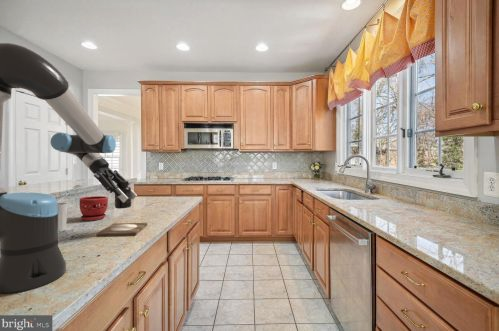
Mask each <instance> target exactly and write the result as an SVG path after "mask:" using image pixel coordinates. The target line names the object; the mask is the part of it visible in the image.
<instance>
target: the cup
mask: <svg viewBox="0 0 499 331" xmlns="http://www.w3.org/2000/svg"><path fill="white" fill-rule="evenodd" d="M68 205H69V203H68V202H57V207H58V232H61V231H65V230H66V229H67V218H68Z"/></svg>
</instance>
